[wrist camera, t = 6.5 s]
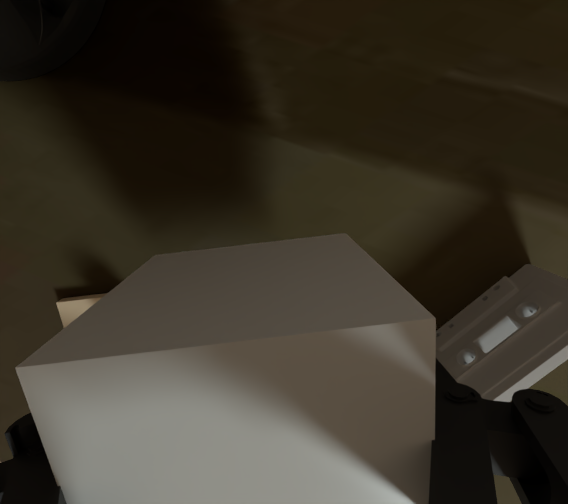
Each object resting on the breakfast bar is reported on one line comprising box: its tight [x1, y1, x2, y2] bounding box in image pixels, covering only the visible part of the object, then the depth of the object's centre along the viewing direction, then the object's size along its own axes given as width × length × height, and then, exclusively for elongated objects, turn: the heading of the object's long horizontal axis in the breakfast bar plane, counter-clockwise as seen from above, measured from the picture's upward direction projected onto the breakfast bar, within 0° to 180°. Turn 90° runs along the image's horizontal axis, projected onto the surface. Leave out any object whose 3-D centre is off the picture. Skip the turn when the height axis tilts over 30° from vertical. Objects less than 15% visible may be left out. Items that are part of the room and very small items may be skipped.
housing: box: [15, 233, 436, 504], centre depth 13 cm, size 9×9×9 cm
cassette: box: [436, 264, 568, 402], centre depth 24 cm, size 12×2×8 cm, turn 134°
